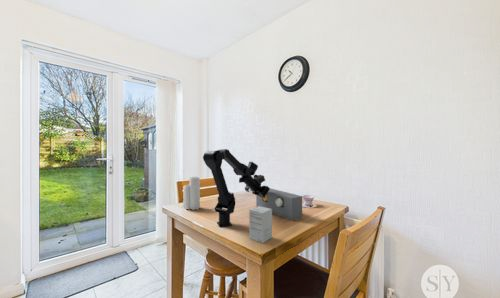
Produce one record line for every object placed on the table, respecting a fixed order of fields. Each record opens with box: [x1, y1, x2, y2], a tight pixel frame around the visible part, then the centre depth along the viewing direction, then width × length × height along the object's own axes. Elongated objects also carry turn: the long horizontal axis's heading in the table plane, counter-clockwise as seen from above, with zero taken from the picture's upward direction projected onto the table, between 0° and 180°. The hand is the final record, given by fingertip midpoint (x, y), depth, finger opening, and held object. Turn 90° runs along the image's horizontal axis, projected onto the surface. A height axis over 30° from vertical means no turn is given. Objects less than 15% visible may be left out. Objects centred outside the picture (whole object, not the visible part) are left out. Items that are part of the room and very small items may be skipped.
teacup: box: [301, 194, 319, 209], centre depth 143 cm, size 12×12×6 cm
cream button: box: [275, 198, 283, 207], centre depth 121 cm, size 2×4×4 cm, turn 35°
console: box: [255, 187, 303, 221], centre depth 129 cm, size 8×32×12 cm, turn 35°
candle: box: [182, 176, 201, 211], centre depth 138 cm, size 11×7×20 cm, turn 81°
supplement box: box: [248, 206, 273, 244], centre depth 93 cm, size 7×7×13 cm
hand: (264, 197), depth 133 cm, fingers closed, pressing on orange button
